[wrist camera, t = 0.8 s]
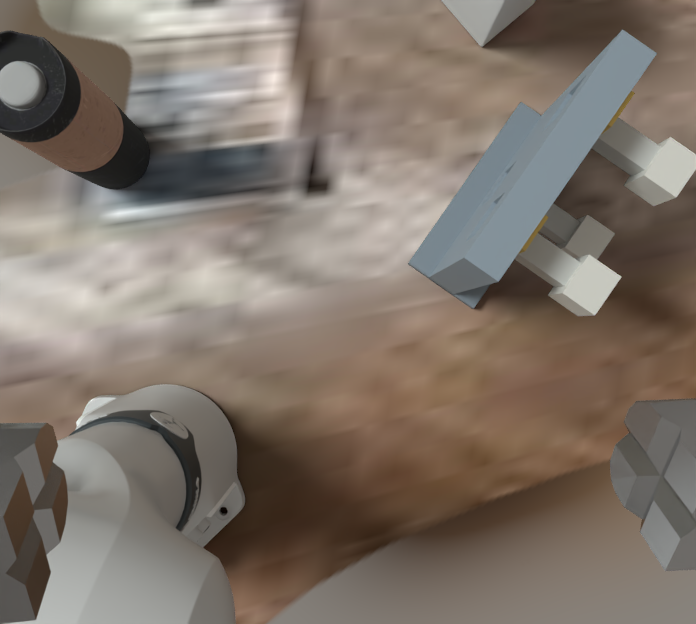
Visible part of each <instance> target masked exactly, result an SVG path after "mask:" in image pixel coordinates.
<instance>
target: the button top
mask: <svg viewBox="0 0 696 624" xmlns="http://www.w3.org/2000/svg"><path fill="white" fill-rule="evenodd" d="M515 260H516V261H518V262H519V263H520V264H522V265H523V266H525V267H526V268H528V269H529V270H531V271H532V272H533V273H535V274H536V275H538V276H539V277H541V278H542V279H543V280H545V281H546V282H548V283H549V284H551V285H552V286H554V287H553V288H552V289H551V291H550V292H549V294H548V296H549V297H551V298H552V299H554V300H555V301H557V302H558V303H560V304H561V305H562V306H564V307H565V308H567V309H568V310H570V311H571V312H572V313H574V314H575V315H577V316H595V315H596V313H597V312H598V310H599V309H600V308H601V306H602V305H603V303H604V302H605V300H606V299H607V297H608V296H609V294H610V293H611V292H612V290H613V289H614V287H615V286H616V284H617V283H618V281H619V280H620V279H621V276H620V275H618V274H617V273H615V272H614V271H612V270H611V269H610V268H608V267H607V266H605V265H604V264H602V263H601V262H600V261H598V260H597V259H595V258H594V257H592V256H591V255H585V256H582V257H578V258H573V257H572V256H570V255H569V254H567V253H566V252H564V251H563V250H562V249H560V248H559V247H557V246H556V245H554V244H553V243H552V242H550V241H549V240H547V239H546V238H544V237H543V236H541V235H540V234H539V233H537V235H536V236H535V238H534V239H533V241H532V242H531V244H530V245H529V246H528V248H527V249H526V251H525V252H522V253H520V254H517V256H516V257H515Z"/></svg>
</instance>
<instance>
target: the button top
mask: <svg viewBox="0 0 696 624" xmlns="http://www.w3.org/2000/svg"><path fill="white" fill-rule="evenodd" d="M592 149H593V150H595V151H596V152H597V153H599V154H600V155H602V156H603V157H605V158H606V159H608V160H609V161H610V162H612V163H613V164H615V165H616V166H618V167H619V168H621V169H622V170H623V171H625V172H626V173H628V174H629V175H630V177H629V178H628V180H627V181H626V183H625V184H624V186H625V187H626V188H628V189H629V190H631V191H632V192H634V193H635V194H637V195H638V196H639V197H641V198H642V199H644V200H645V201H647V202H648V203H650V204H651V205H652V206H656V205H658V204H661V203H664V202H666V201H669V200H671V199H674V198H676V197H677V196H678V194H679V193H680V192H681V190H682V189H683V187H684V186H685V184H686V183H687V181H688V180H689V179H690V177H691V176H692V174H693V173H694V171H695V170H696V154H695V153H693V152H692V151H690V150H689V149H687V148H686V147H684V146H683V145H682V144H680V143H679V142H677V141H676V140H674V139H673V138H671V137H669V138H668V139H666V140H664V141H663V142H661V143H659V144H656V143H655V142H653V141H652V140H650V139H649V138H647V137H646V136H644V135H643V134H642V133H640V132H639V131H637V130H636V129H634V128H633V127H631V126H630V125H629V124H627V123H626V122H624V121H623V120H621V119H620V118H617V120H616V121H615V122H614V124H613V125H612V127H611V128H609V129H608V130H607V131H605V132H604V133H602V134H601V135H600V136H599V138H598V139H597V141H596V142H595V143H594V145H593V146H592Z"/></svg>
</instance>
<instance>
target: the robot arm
mask: <svg viewBox="0 0 696 624" xmlns="http://www.w3.org/2000/svg"><path fill="white" fill-rule="evenodd" d="M624 423H625V425H626V427H627V429H628V431H629V433H628V434H627V435H626V436H625V437H624V438H623V439H622V440H620V441H619V442H618V443H617V444H616V445H615V448H614V451H613V454H612V457H611V460H610V468H611V481H612V483H613V487H614V489H615V492H616V494H617V496H618V498H619V499H620V501H621V503H622V504H623V506H624V507H625V508H626V509H628V510H629V511H631V512H632V513H634V514H635V515H637V516H638V517H640V518H641V519H642V522H641V530H640V533H641V534H642V536H643V537H644V539H645V541H646V542H647V544H648V545H649V547H650V548H651V550H652V551H653V553H654V555H655V556H656V558H657V559H658V561H659V562H660V564H661V565H662V567H663V569H664V570H665V571H675V570H696V398H691V399H669V400H646V401H636V402H635V403H634V404H633V405H632V406H631V407H630V408H629V410H628V413H627V415H626V418H625V420H624ZM76 424H77V428H76V430H75V431H74V432H73V433H71V434H70V435H69V436H68V437H65V438H63V439H60V440H58V441H57V440H56V436H55V432H54V429H53V426H51V425H49V424H48V423H3V424H0V624H236V619H235V606H234V599H233V594H232V590H231V586H230V582H229V580H228V577H227V575H226V572H225V570H224V568H223V566H222V564H221V562H220V560H219V558H218V557H216V556H215V555H213V554H212V553H210V552H209V551H207V550H206V549H204V548H203V547H204V546H205V545H206V544H207V543H208V542H209V541H210V540H211V539H212V538H213V537H214V536H215V535H216V534H217V533H218V532H219V531H221V530H222V529H223V528H224V527H225V526H226V525H227V524H228V523H229V522H230V521H231V520H232V519H233V518H234V517H235V516H236V515H237V514H238V513H239V512H240V511H241V510H242V509H243V507H244V505H245V496H244V492H243V489H242V486H241V484H240V481H239V479H238V476H237V446H236V440H235V436H234V433H233V430H232V428H231V425H230V423H229V421H228V420H227V418H226V416H225V415H224V414H223V412H222V411H221V410H220V408H219V407H218V406H217V405H216V404H215V403H214V402H212V401H211V400H210V399H209V398H207V397H206V396H204V395H203V394H201V393H199V392H197V391H195V390H193V389H190V388H187V387H184V386H179V385H171V384H161V385H154V386H149V387H145V388H142V389H140V390H137V391H135V392H132V393H130V394H126V395H122V396H120V395H102V396H97V397H95V398H93V399H92V400H90V401H89V402H88V404H87V405H86V407H85V410H84V412H83V414H82V416H81V417H80V418H79V419H78V420H77V422H76ZM221 507H225V508H227V510H228V513H226V514H224V513H222V512H221V510H220V508H221Z"/></svg>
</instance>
